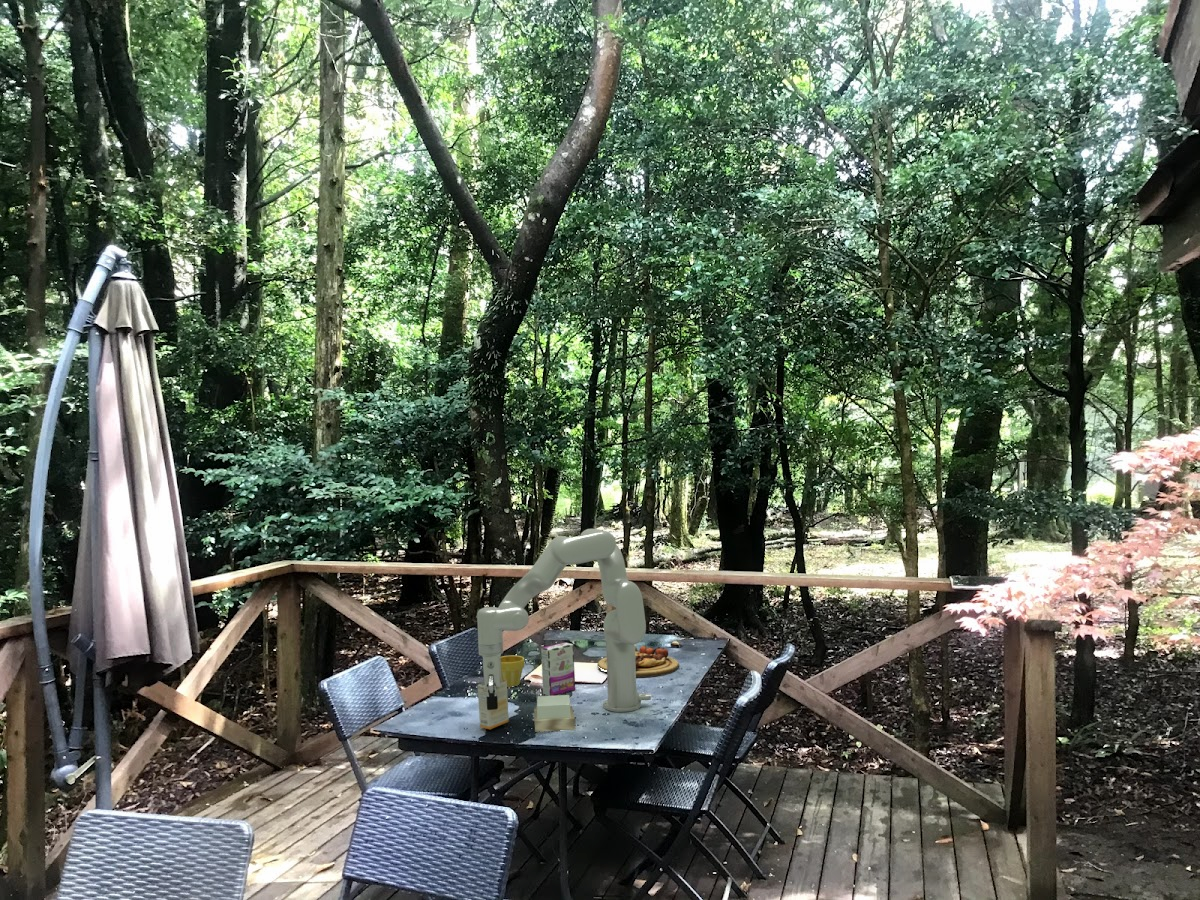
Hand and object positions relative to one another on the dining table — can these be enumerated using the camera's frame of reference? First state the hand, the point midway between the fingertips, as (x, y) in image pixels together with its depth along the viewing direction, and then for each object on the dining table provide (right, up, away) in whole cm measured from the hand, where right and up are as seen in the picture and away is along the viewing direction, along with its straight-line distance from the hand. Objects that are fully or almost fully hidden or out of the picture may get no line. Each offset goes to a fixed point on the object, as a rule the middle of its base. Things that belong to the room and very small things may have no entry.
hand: (493, 704), depth 238 cm
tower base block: (+19, -7, +1) cm, 20 cm away
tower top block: (+19, -3, +1) cm, 19 cm away
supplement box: (0, -6, 0) cm, 6 cm away
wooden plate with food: (+48, -8, +66) cm, 82 cm away
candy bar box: (+18, -7, +35) cm, 40 cm away
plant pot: (0, -8, +45) cm, 46 cm away
